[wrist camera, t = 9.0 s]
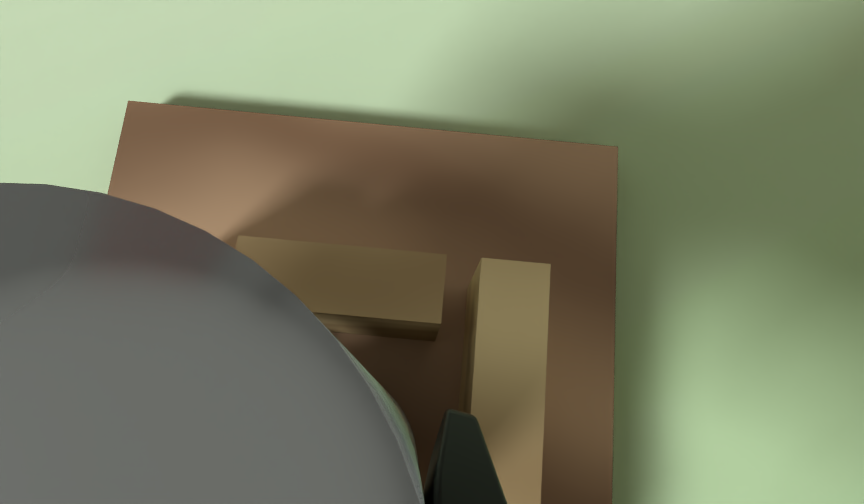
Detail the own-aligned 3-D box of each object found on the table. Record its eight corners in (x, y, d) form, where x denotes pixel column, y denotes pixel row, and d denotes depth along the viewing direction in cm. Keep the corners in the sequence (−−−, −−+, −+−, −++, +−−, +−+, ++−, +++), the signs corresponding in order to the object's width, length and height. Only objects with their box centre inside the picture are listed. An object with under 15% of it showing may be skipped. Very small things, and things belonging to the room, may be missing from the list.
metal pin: (408, 558, 15) (386, 1457, 2) (231, 543, 15) (-931, 1363, 2) (424, 379, 16) (477, 224, 3) (258, 365, 16) (-393, 145, 3)
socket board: (592, 879, 15) (668, 1072, 11) (-11, 830, 15) (-187, 1005, 10) (607, 159, 19) (665, 86, 15) (142, 116, 19) (63, 29, 15)
